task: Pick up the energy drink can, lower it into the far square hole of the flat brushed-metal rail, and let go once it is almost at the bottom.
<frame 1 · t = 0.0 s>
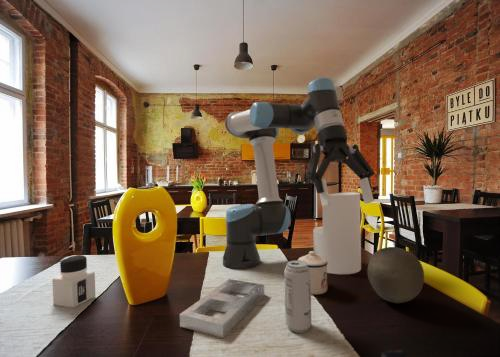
hand: (348, 204, 72), 28 cm above the table, tool tilted 20°, fingers open, 13 cm apart
container: (75, 301, 83), on the table
energy drink can: (298, 327, 66), on the table
cylinder: (336, 266, 108), on the table
teacup with lid: (312, 287, 89), on the table
rail: (226, 308, 76), on the table
cantaloupe: (395, 303, 77), on the table
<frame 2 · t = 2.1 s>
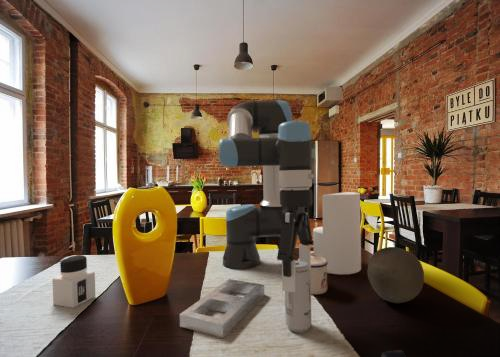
hand: (297, 279, 66), 11 cm above the table, tool pointing down, fingers open, 13 cm apart
nothing on the table moved.
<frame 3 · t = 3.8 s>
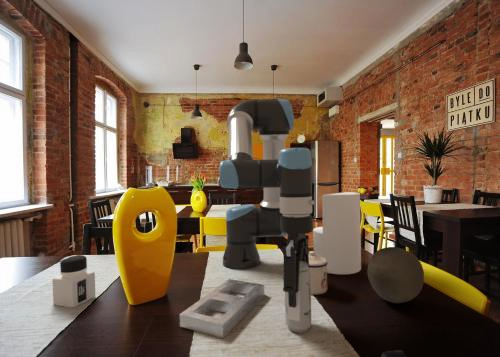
hand: (298, 312, 66), 3 cm above the table, tool pointing down, fingers closed on energy drink can, 6 cm apart
energy drink can: (298, 327, 66), on the table, touching gripper
everything else where it was.
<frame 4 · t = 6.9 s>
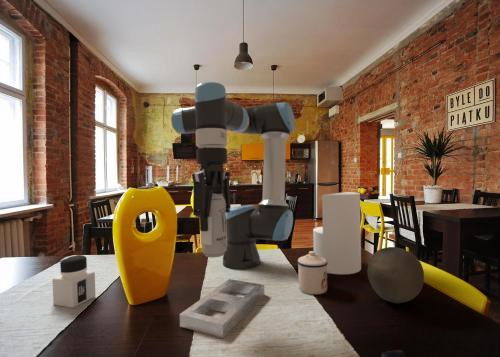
hand: (214, 240, 70), 20 cm above the table, tool pointing down, fingers closed on energy drink can, 6 cm apart
energy drink can: (214, 255, 70), point 16 cm above the table, touching gripper
everything else where it was.
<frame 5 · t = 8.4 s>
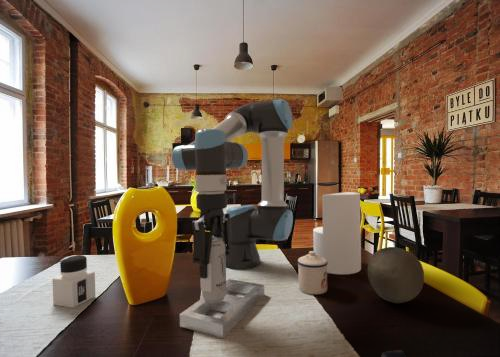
hand: (213, 285, 70), 9 cm above the table, tool pointing down, fingers closed on energy drink can, 6 cm apart
energy drink can: (214, 299, 70), point 5 cm above the table, touching gripper
everything else where it was.
when the fingers open (5 cm above the table, at t = 9.9 s): energy drink can drops 1 cm, resting in rail.
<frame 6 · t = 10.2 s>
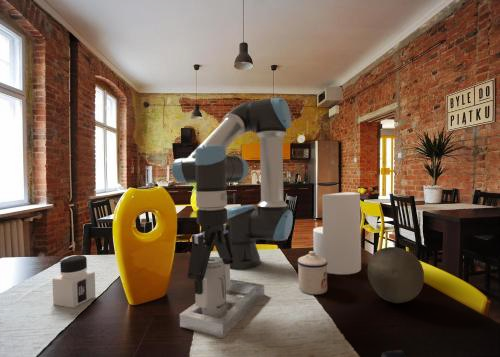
hand: (214, 296, 70), 6 cm above the table, tool pointing down, fingers open, 10 cm apart
energy drink can: (214, 320, 70), resting in rail
everything else where it was.
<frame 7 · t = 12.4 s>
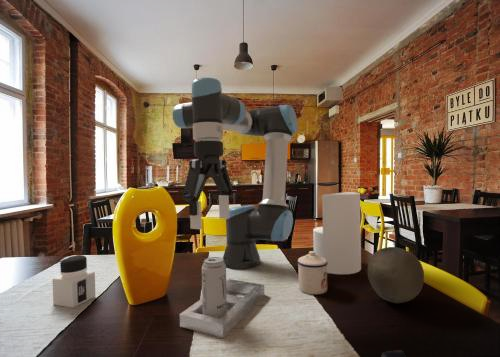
hand: (211, 223, 73), 24 cm above the table, tool pointing down, fingers open, 13 cm apart
nothing on the table moved.
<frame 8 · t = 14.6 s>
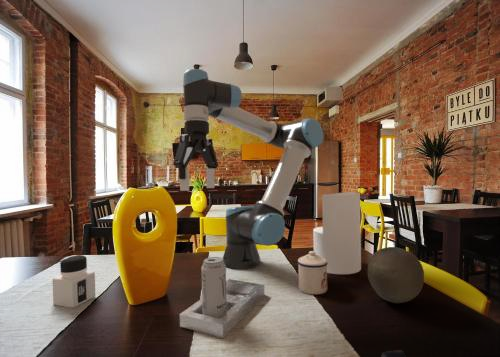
hand: (198, 189, 88), 32 cm above the table, tool pointing down, fingers open, 13 cm apart
nothing on the table moved.
at the end: energy drink can 0.1 cm from the target spot on the rail, point 0.0 cm above the rail's base; energy drink can tilted 0°; the gripper is holding nothing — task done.
